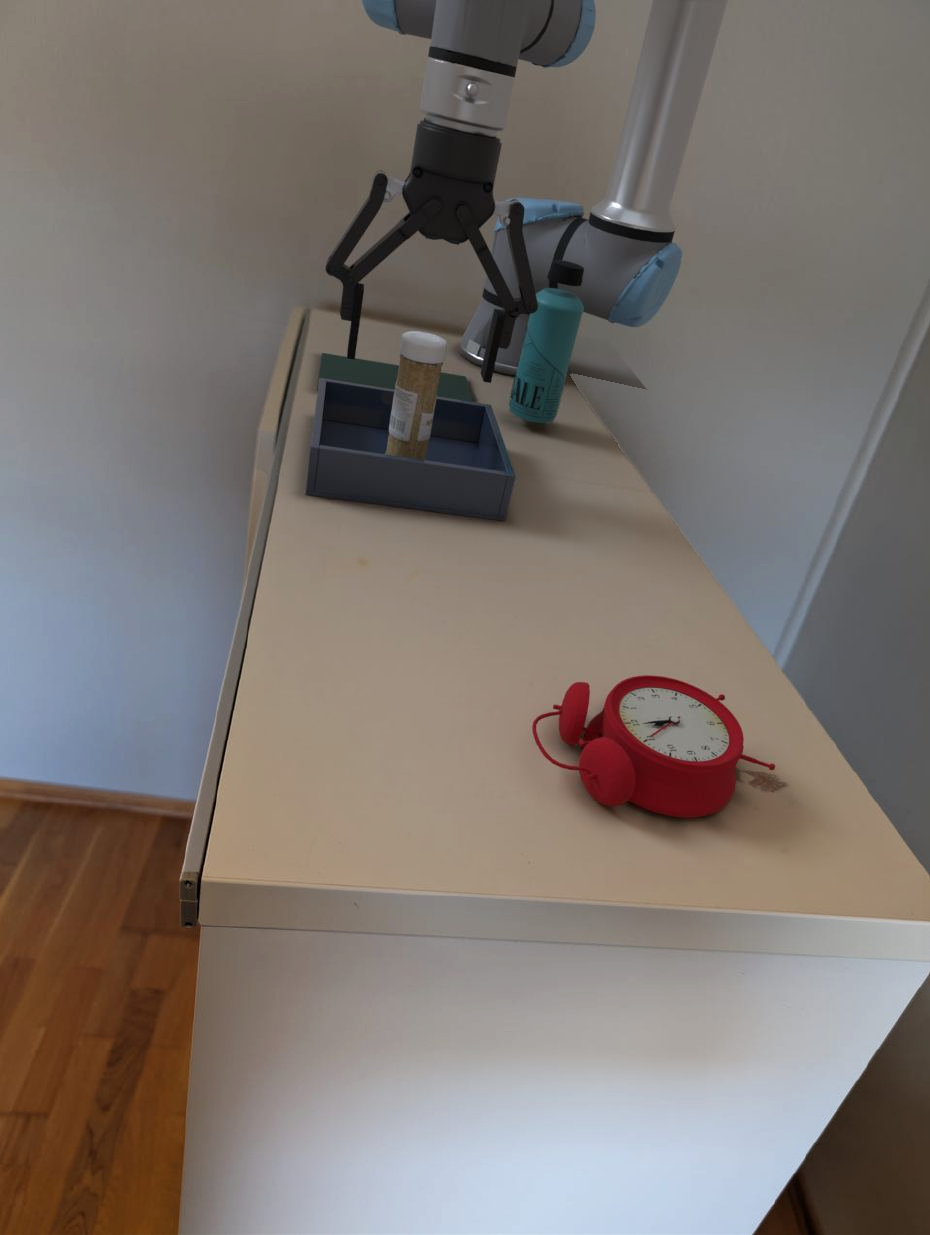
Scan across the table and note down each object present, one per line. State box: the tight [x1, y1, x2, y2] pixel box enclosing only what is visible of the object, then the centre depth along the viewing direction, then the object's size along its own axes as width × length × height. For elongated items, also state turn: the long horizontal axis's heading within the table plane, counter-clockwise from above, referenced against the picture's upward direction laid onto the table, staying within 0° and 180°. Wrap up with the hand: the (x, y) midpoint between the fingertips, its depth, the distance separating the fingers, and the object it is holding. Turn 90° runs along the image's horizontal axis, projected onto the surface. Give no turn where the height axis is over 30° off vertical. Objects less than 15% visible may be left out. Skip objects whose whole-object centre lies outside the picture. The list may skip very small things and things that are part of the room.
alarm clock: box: [531, 674, 776, 818], centre depth 57 cm, size 10×6×15 cm
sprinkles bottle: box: [385, 330, 448, 460], centre depth 88 cm, size 5×5×13 cm
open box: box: [305, 377, 517, 522], centre depth 90 cm, size 20×20×5 cm
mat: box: [316, 352, 474, 402], centre depth 113 cm, size 20×14×1 cm
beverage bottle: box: [507, 260, 585, 424], centre depth 105 cm, size 6×7×20 cm
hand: (419, 367), depth 86 cm, fingers open, 13 cm apart
